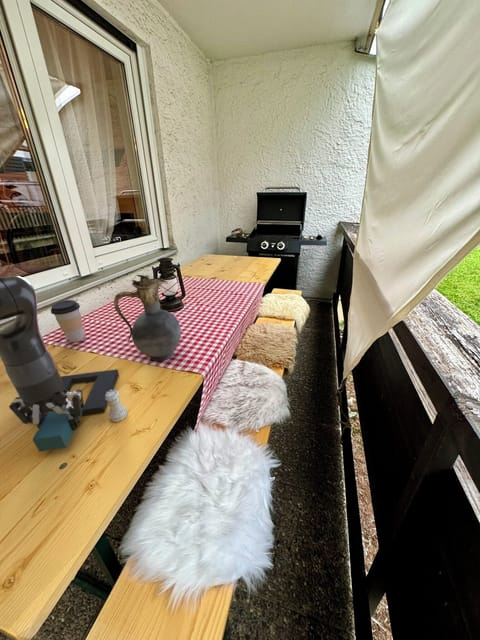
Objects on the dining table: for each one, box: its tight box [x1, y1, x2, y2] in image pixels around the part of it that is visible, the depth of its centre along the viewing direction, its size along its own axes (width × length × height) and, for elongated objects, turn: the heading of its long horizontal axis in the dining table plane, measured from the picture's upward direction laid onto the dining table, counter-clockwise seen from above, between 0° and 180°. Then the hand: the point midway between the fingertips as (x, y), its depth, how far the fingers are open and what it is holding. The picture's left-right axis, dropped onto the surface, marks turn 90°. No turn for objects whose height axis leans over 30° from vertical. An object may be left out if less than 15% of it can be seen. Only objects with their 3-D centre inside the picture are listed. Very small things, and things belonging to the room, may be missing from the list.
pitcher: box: [113, 274, 182, 362], centre depth 84 cm, size 11×19×30 cm, turn 97°
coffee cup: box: [50, 299, 86, 343], centre depth 99 cm, size 9×9×15 cm
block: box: [32, 403, 82, 452], centre depth 60 cm, size 6×10×4 cm, turn 10°
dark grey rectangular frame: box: [29, 369, 120, 424], centre depth 74 cm, size 18×16×2 cm
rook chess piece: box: [105, 389, 128, 423], centre depth 66 cm, size 4×4×8 cm
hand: (61, 429), depth 61 cm, fingers closed on block, 5 cm apart
